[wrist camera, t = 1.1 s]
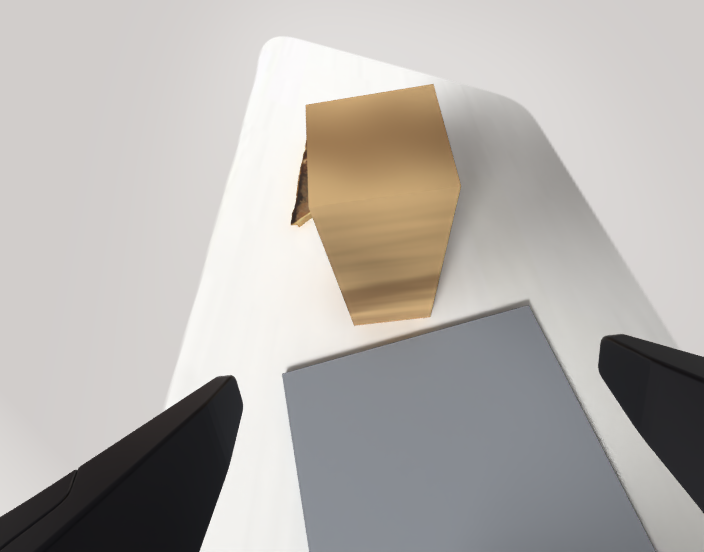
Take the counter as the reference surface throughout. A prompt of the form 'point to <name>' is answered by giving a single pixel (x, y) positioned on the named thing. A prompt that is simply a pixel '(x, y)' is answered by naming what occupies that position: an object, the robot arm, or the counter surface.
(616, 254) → the counter surface
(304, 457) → the slate mat
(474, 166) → the counter surface
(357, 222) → the wood block
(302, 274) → the counter surface
